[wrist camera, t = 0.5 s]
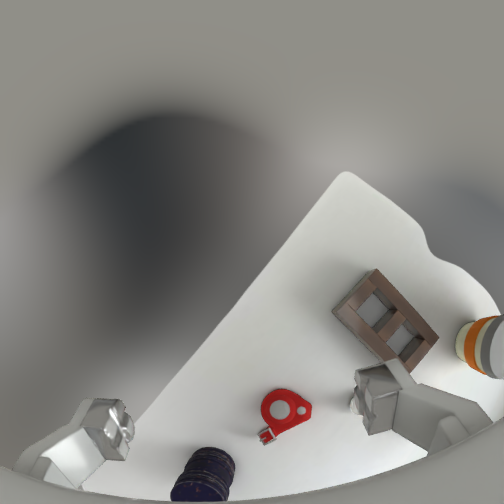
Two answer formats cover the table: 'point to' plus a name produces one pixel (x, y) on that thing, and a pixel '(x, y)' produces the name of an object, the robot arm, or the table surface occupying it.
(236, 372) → the table surface
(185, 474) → the dark blue cylinder
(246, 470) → the table surface
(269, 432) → the tracker holder
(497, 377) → the reusable coffee cup
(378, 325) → the holder
